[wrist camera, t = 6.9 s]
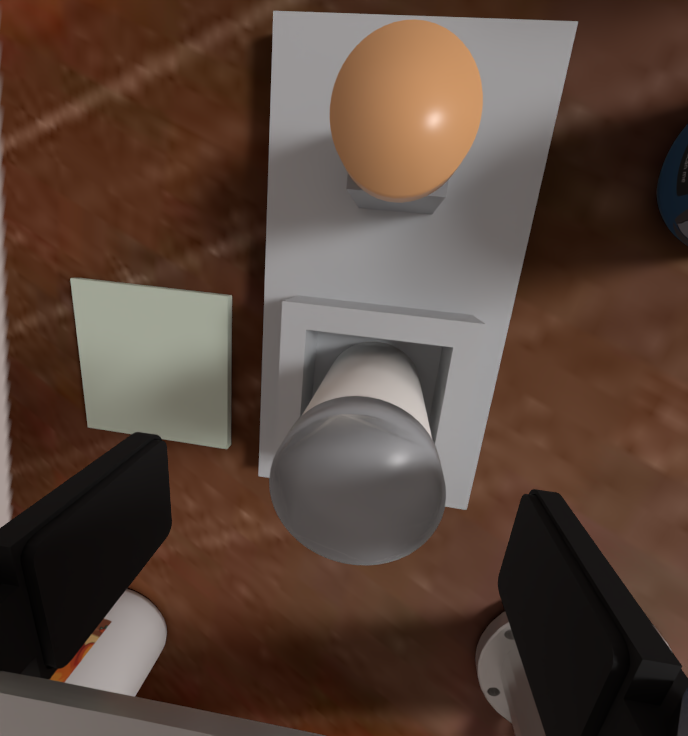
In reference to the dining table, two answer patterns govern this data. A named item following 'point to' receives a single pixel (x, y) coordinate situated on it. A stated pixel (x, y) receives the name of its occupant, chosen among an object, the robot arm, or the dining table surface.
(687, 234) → the soda can
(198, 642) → the dining table surface
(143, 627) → the milk bottle
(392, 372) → the cartridge
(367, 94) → the brown egg
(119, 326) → the mat
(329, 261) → the housing
